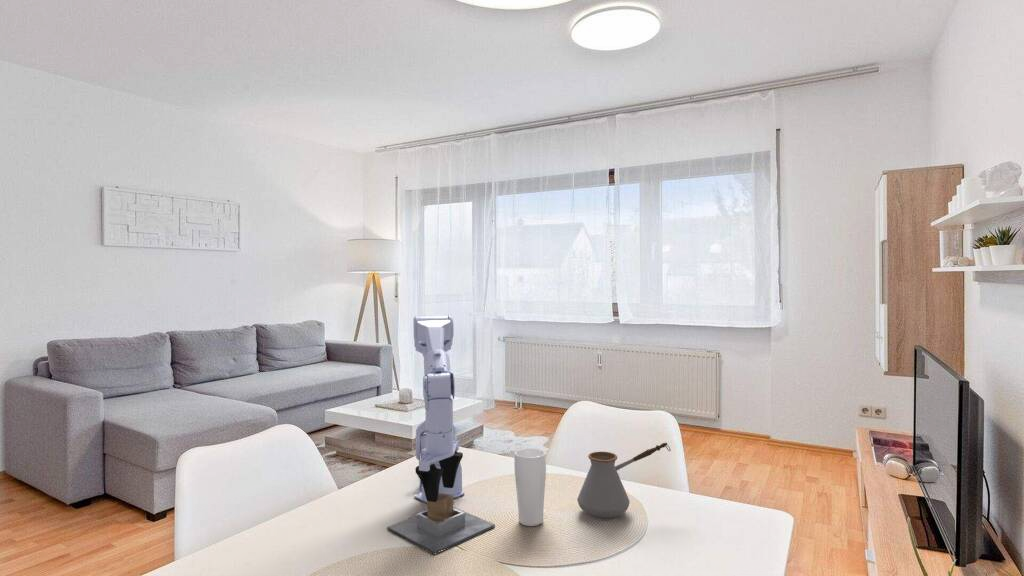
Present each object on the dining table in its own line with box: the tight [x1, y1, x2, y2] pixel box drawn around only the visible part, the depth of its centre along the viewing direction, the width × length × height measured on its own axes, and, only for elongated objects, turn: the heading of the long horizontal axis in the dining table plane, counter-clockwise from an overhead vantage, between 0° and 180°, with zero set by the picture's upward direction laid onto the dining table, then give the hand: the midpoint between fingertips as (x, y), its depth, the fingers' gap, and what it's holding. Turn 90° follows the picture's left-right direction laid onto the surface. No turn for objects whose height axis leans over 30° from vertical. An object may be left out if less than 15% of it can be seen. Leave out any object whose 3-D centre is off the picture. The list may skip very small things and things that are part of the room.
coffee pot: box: [576, 442, 671, 521], centre depth 124 cm, size 21×12×15 cm, turn 98°
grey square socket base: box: [386, 506, 496, 555], centre depth 117 cm, size 16×16×3 cm
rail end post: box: [426, 493, 454, 522], centre depth 117 cm, size 4×4×6 cm
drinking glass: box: [514, 447, 547, 527], centre depth 119 cm, size 7×7×15 cm
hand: (440, 493), depth 117 cm, fingers open, 7 cm apart
